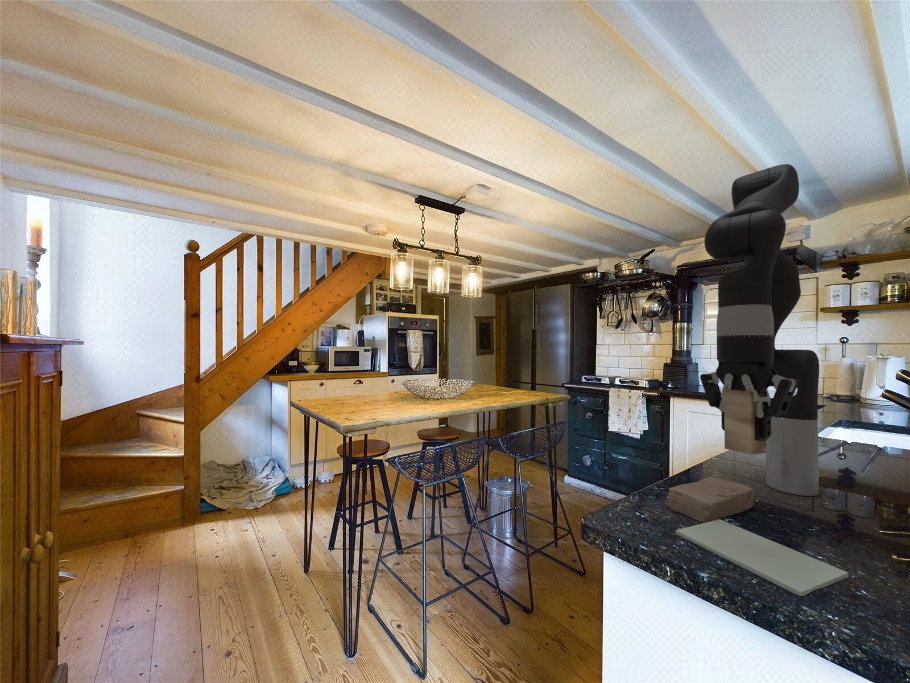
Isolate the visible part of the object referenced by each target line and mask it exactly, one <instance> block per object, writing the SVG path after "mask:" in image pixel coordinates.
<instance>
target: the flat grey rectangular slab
mask: <svg viewBox="0 0 910 683" xmlns="http://www.w3.org/2000/svg"><path fill="white" fill-rule="evenodd" d="M675 535H677V536H679V537H681V538H683V539H685V540H687V541H688V542H691V543H693V544H695V545H697V546H699V547H701V548H703V549H705V550H706V551H708V552H709V551H710V552H711V553H713V554H714V555H717V556H719V557H721V558H723V559H725V560H727V561H729V562H731V563H733V564H735V565H736V566H739V567H741V568H742V569H744V570H747V571H748V572H751V573H753V574H755V575H757V576H759V577H760V578H762V579H765V580H767V581H769V582H770V583H772V584H774V585H776V586H779V587H780V588H782V589H785V590H786V591H789V592H790V593H793V594H795V595H796V596H798V595H799V597H800V596H802V597H804V596H807V595H808V593H809V594H811V593H810V592H812V591H814V590H816V589H819V590H820V588H821V589H823V588H826V587H827V586H830V585H833V584H835V583H837V582H840V581H842V580H845V579H846V578H849V572H848V571H845V570H843V569H840V568H839V567H838V568H837V567H836V566H833V565H831V564H828V563H826V562H824V561H822V560H819V559H817V558H814V557H812V556H809V555H807V554H804V553H802V552H799V551H797V550H794V549H793V548H791V547H788V546H785V545H783V544H780V543H778V542H775V541H773V540H772V539H768V538H766V537H764V536H761V535H759V534H756V533H754V532H751V531H749V530H746V529H744V528H742V527H739V526H737V525H736V524H733V523H730V522H727V521H725V520H722V519H721V518H720V519H717V520H714V521H711V522H707V523H704V522H702V523H700V524H696V525H691V526H687V527H684V528H680V529H676V530H675ZM816 591H817V590H816ZM814 592H815V591H814ZM812 593H813V592H812ZM806 594H807V595H806ZM803 595H804V596H803Z"/></svg>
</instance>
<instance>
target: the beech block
mask: <svg viewBox="0 0 910 683" xmlns="http://www.w3.org/2000/svg"><path fill="white" fill-rule="evenodd" d="M763 395H764V394H761V395H758V396H759V397H763ZM755 417H757V416H756V415H755V412H754V403H753V402H752V392H749V391H746V390H741V389H732V390H729V389H724V430H723V431H724V432H725V433H724V450H729V451H732V452H737V453H742V454H745V455H749V456H754V455H759V454H766V453H767V443H766V441H757V440H755Z"/></svg>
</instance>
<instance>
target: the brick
mask: <svg viewBox="0 0 910 683" xmlns="http://www.w3.org/2000/svg"><path fill="white" fill-rule="evenodd" d="M668 490H669V492H668V496H667V508H669V509H671V510H673V511H675V512H677V513H680V514H683V515H685V516H687V517H690V518H692V519H694V520H696V521H698V522H700V523H707V522H711V521H714V520H718V519H720V520H721V519H724V518H726V517H730V516H733V515H736V514H740V513H743V512H745V511H747V510H749V509H751V508H752V507H753V505H754V498H755V495H754V494H755V490H754V488H751V487H750V486H748V485H745V484H741V483H738V482H733V481H730V480H726V479H725V480H724V479H723V478H718V477H715V476H711V477H706V478H703V479H700V480H697V482H691V483H684V484H679V485H676V486H673V487H672V486H671V487H669V488H668Z"/></svg>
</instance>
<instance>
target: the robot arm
mask: <svg viewBox="0 0 910 683" xmlns="http://www.w3.org/2000/svg"><path fill="white" fill-rule="evenodd" d="M799 194H800V181H799V176H798V172H797V169H796V167H794V166H793V165H792V164H788V163H787V164H786V163H785V164H783V163H782V164H777V165H773V166H771V167H767V168H765V169H761V170H758V171H754V172H751V173H749V174H746V175H742V176H740V177H737V178H736V179H734V181H733V183H732V186H731V202H732V205H733V210H731V211H729V212H727V213H725V214H723V215H721V216H720V217H718V218H717V219H714V221H712V223H711V224H710V225H709V227H708V228H707V231H706V232H705V235H704V240H703V241H704V244H703V245H704V249H705V251H706V253H707V254H708V255H709V257H711V258H713V259H715V260H719V261H729V260H734V259H741V258H742V259H743V261H744V262H743V264H744V267H743V268H740V269H737V270H734V271H730V272H726V273H725V274H723V275H721V276H720V277H719V278H718V281H717V282H718V283H717V308H718V310H717V316H716V331H715V332H716V360H717V362H718V364H717V367H716V369H715V371H714V372H711V373H702V374H700V376H699V378H700V381H701V384H702V387H703V391H704V394H705V397H706V399H707V402H708V405H709V406H710V407H711V408H716V409H718V410H719V411H720V414H721V428H722V431H724V389H729V390H732V389H741V390H746V391H749V392H752V402H753V403H754V412H755V415H756V416H757V417H755V440H757V441H766V443H767V453H765V463H766V464H765V465H766V466H765V471H766V472H765V473H766V474H765V476H766V477H765V480H766V483H765V484H766V486H767V487H769V488H770V489H774V490H777V491H780V492H783V493H788V494H791V495H797V496H805V497H809V496H810V497H815V496H816V497H817V496H818V495H819V494H820V490H819V487H820V486H819V485H820V484H819V483H820V482H819V471H820V470H819V422H818V421H819V420H818V419H819V418H818V417H819V413H818V412H819V411H818V409H819V379H820V359H819V357H818V355H817V353H816V352H815V351H814V350H811V349H776V346H775V342H776V336H777V334H778V332H779V330H780V328H781V326H782V325H783V323H784V322H785V321H786V320H787V318H788V317H789V316H790V314H791V313H792V311H793V310H795V309H794V308H795V307H796V305H797V304H798V303H799V300H800V298H801V294H802V291H801V289H802V288H801V281H800V274H799V272H800V271H799V268H798V266H797V264H796V262H795V261H794V260H793V259H792V258H791V257H790V256H789V255H788V254H787V253H785V251H783V250H782V249H781V248H782V244H783V241H784V239H785V235H786V229H787V224H786V223H787V222H786V220H785V218H784V216H783V215H782V213H784V212H785V211H787V209H789V208H790V207H792V206H793V205H795V203H796V201H798V200H797V199H799V198H798V197H799ZM720 382H721V384H722V385H723V386H722V390H721V389H720V385H719V383H720ZM769 387H773V388H774V389H775V392H774V395H773V397H772V399H771V397H770V394H769V390H768V388H769ZM761 394H764V395H763V397H759V396H758V395H761ZM724 434H725V432H724Z"/></svg>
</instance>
